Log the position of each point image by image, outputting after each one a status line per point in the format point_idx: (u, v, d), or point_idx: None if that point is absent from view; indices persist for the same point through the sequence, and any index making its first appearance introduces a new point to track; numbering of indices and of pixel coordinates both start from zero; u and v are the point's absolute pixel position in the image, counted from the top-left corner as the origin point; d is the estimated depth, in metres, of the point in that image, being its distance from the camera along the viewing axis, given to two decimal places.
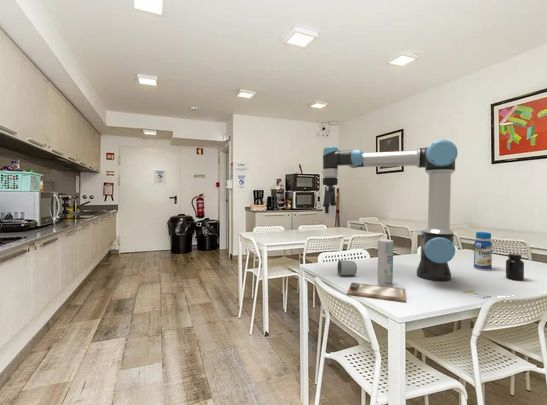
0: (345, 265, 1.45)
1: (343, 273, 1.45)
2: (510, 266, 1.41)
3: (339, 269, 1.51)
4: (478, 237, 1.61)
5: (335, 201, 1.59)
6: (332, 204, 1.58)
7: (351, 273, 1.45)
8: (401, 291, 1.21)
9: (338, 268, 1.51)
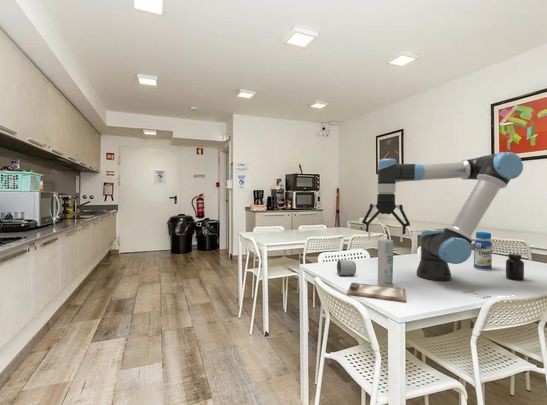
0: (344, 265, 1.46)
1: (342, 273, 1.46)
2: (510, 266, 1.41)
3: (339, 269, 1.52)
4: (478, 237, 1.61)
5: (407, 222, 1.29)
6: None
7: (350, 273, 1.46)
8: (401, 291, 1.21)
9: (338, 268, 1.52)
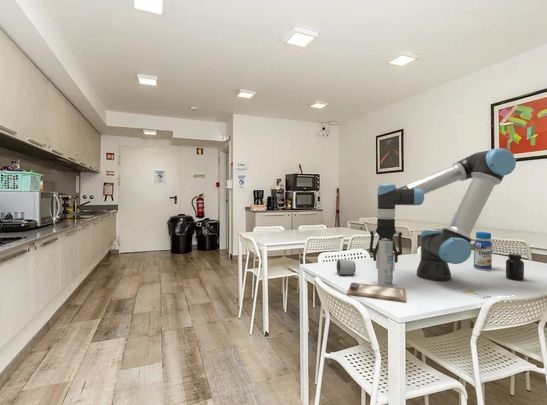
0: (344, 264, 1.46)
1: (342, 272, 1.46)
2: (510, 266, 1.41)
3: (338, 268, 1.53)
4: (478, 237, 1.61)
5: (400, 250, 1.30)
6: (395, 253, 1.32)
7: (350, 272, 1.47)
8: (401, 291, 1.21)
9: (337, 267, 1.53)
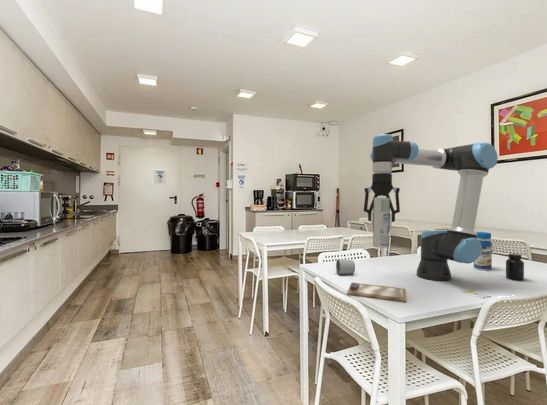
0: (343, 264, 1.47)
1: (341, 272, 1.47)
2: (510, 266, 1.41)
3: (338, 268, 1.53)
4: (478, 237, 1.61)
5: (397, 208, 1.17)
6: (392, 212, 1.19)
7: (349, 272, 1.47)
8: (401, 291, 1.21)
9: (337, 267, 1.54)
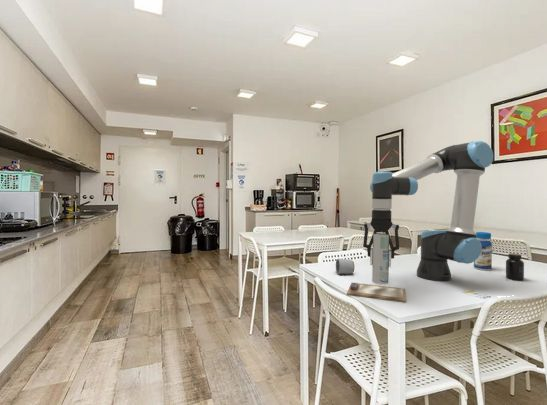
0: (343, 264, 1.48)
1: (341, 271, 1.48)
2: (510, 266, 1.41)
3: (337, 268, 1.54)
4: (478, 237, 1.61)
5: (397, 245, 1.18)
6: (391, 248, 1.20)
7: (349, 271, 1.48)
8: (401, 291, 1.21)
9: (336, 267, 1.54)
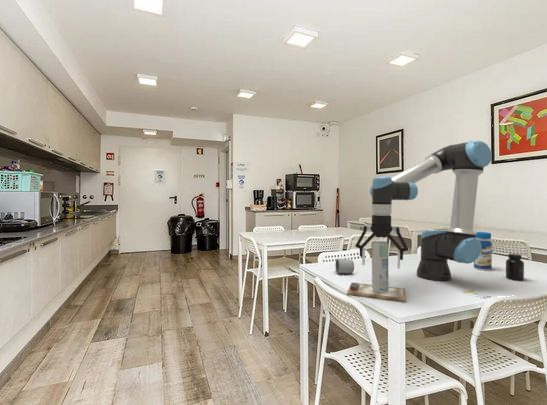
0: (342, 263, 1.48)
1: (341, 271, 1.48)
2: (510, 266, 1.41)
3: (337, 267, 1.55)
4: (478, 237, 1.61)
5: (404, 247, 1.17)
6: None
7: (348, 271, 1.49)
8: (401, 291, 1.21)
9: (336, 266, 1.55)
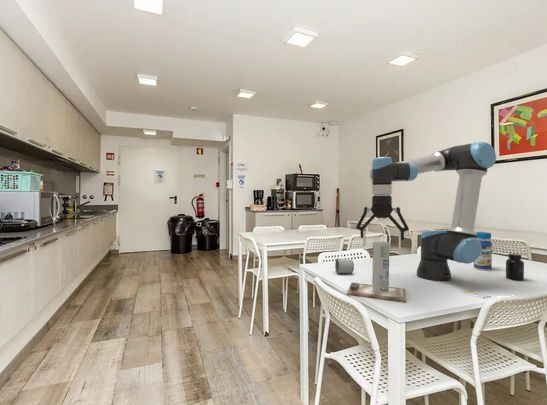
0: (342, 263, 1.49)
1: (340, 271, 1.49)
2: (510, 266, 1.41)
3: (337, 267, 1.55)
4: (478, 237, 1.61)
5: (405, 226, 1.16)
6: None
7: (348, 271, 1.49)
8: (401, 291, 1.21)
9: (336, 266, 1.55)
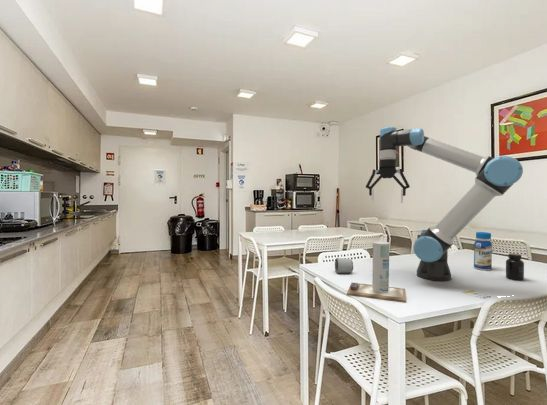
0: (342, 263, 1.50)
1: (340, 270, 1.50)
2: (510, 266, 1.41)
3: (336, 267, 1.56)
4: (478, 237, 1.61)
5: (407, 184, 1.41)
6: (403, 187, 1.43)
7: (348, 270, 1.50)
8: (401, 291, 1.21)
9: (335, 266, 1.56)
